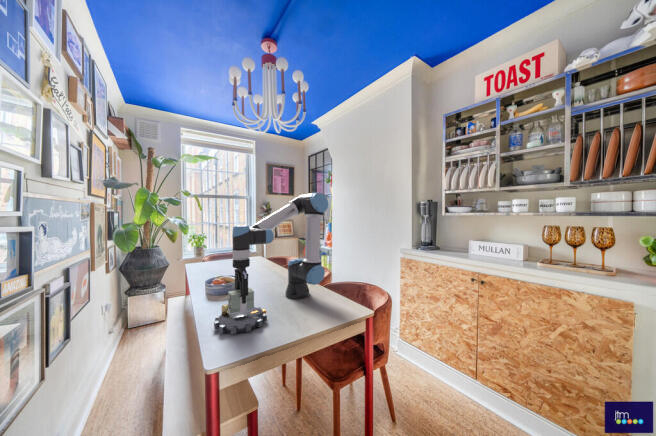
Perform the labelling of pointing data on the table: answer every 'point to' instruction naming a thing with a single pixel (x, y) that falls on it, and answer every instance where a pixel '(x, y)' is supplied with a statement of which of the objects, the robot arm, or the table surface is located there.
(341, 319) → the table surface
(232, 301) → the link block
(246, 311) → the sprocket wheel
